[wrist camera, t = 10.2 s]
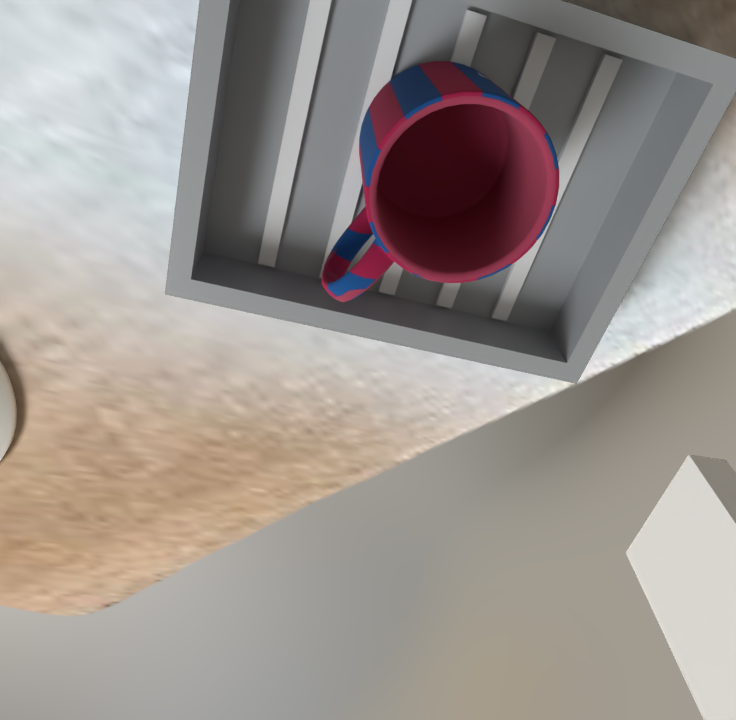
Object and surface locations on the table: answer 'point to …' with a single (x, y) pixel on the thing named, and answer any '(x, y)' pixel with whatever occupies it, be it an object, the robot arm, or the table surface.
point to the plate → (6, 411)
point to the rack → (344, 178)
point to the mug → (445, 181)
